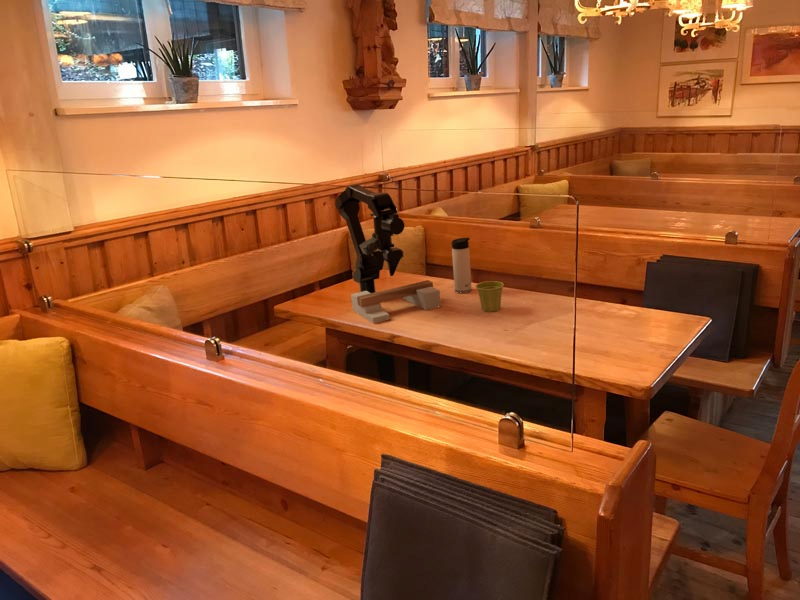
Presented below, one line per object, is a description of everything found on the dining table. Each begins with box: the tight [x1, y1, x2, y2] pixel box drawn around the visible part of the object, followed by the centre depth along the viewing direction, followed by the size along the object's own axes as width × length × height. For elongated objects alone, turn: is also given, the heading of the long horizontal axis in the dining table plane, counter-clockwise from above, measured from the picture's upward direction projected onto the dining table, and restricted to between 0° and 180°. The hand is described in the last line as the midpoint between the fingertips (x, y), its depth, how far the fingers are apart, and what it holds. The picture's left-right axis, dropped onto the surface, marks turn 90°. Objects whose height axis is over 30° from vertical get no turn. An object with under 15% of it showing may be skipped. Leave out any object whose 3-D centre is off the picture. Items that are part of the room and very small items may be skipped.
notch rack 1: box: [350, 291, 390, 324], centre depth 234 cm, size 18×6×6 cm, turn 26°
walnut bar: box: [357, 279, 434, 307], centre depth 238 cm, size 4×28×3 cm, turn 117°
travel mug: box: [451, 237, 473, 294], centre depth 248 cm, size 6×7×20 cm
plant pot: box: [475, 280, 505, 313], centre depth 228 cm, size 9×9×9 cm
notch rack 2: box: [402, 286, 442, 311], centre depth 242 cm, size 18×6×6 cm, turn 26°
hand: (386, 272), depth 240 cm, fingers open, 9 cm apart
